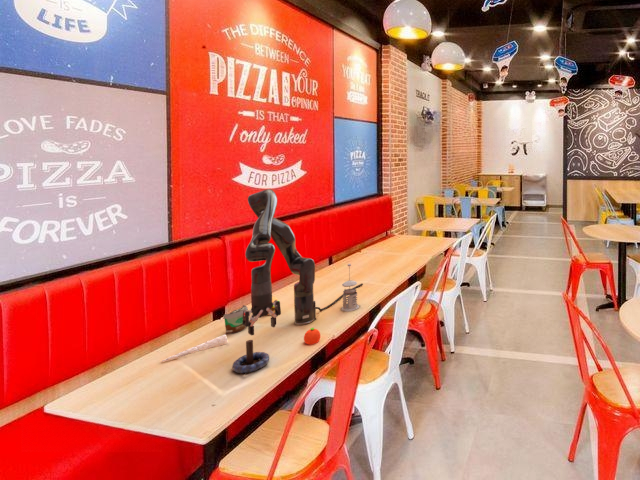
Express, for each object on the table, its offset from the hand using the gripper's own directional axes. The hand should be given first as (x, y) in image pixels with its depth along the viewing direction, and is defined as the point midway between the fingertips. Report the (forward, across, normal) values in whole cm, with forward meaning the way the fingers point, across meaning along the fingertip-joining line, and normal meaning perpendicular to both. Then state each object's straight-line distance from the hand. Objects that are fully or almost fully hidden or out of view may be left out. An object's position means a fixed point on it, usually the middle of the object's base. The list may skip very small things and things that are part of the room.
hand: (262, 330), depth 158 cm
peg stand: (+14, +5, 0) cm, 15 cm away
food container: (+14, -10, -43) cm, 46 cm away
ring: (+11, +5, 0) cm, 12 cm away
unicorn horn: (+14, +11, -34) cm, 39 cm away
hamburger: (+14, -29, -53) cm, 62 cm away
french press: (+14, -56, -18) cm, 61 cm away
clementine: (+14, -21, +2) cm, 25 cm away
